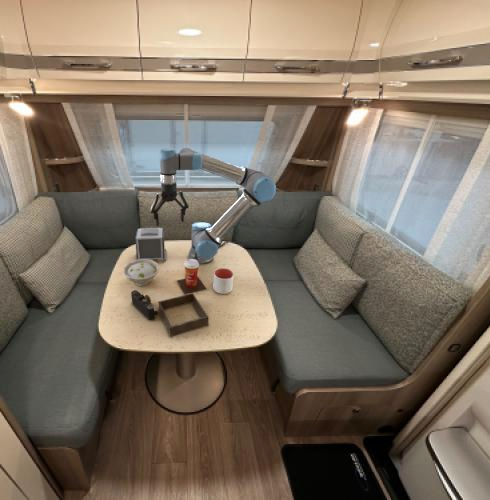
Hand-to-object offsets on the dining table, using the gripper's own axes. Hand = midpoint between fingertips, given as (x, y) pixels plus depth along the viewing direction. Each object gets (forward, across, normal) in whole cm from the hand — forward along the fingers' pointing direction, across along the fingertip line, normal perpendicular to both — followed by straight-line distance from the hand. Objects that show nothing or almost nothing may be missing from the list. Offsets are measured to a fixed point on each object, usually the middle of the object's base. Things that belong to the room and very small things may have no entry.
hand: (169, 223), depth 139 cm
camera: (+31, +22, +26) cm, 46 cm away
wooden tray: (+31, +7, +37) cm, 49 cm away
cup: (+31, -20, +25) cm, 45 cm away
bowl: (+31, +18, +4) cm, 36 cm away
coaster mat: (+31, -6, +16) cm, 35 cm away
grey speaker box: (+31, +6, -21) cm, 38 cm away
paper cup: (+30, -6, +16) cm, 35 cm away
